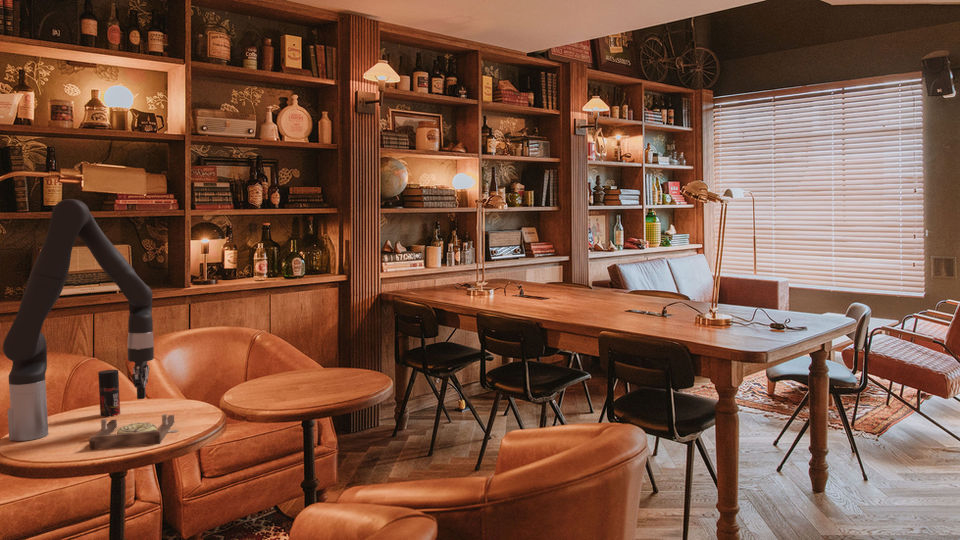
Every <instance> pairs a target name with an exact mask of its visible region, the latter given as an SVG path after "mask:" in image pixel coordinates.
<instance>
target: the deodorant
mask: <svg viewBox="0 0 960 540" xmlns="http://www.w3.org/2000/svg"><path fill="white" fill-rule="evenodd" d="M97 373H98V391H99V413H100V414H99V415H101V416H111V417H115V416H114V415H116V416H119V415H120V414H121V404H120V403H121V402H120V379H119V369H106V370H100V371H98V372H97ZM118 414H119V415H118ZM101 416H100V417H101Z"/></svg>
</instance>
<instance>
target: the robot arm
mask: <svg viewBox="0 0 960 540" xmlns="http://www.w3.org/2000/svg"><path fill="white" fill-rule="evenodd" d="M77 238H79V239H80V240H81V241H82V242H83V244H85V246H86V247H87V248H88V250H89V252H90V253H91V254H92V256H93V258H94V259H95V261H96V262H97V264H98V266H99V267H100V268H101V269H102V270H103V271H104V273H105V274H106V275H107V276H108V277H109V279H111V281H112V282H114V283H115V284H116V286H117V287H118V289H119V290H120V291H121V293H122V294H123V296H125V298H126V299H127V301H128V312H129V314H128V324H127V325H128V326H127V327H128V328H127V329H128V331H127V333H128V335H127V360H128V362H131V363H133V362H134V366H133V367H132V375H131V377H132V382H133V385H134V388H136V399H137V400H144V399H145V398H146V387H147V384H148V382H149V380H148V379H149V373H150V368H151V367H150V365H149V364H148V362H151V361H153V360H154V357H155V354H154V353H155V352H154V351H155V347H154V345H155V344H154V338H155V337H154V332H153V330H154V327H153V326H154V325H153V323H154V322H153V321H154V320H153V316H152V310H153V290H152V288H151V287H150V286H149V285H147V284H146V283H145V282H144V281H143V280H142V279H141V278H140V276H139V275H138V274H137V273H136V271H135V269H134V268H133V266H132V265H131V264H130V262H128V260H127V259H126V258H125V256H123V254H121V252H120V251H119V250H118V249H117V247H115V245H114V244H113V243H112V242H111V241H110V240H109V238H108V236H106V235H105V233H104V232H103V230H102V229H101V228H100V226H99V224H98V222H96V219H95V218H94V216H93V214H92V213H91V211H90V209H89V206H88V205H87V204H86V203H85V202H83V201H82V200H79V199H76V198H75V199H73V198H68V199H66V198H65V199H63V200H61V201H58V202H57V203H56V204H55V205H54V207H53V209H52V212H51V216H50V221H49V226H48V230H47V233H46V237H45V240H44V242H43V243H42V244H43V245H42V247H40V248H41V249H40V251H39V253H38V255H37V257H36V260H35V262H34V264H33V267H32V269H31V272H30V274H29V277H28V279H27V282H26V286H25V289H24V293H23V296H22V298H21V301H20V305H19V308H18V310H17V314H16V316H15V318H14V320H13V322H12V324H11V326H10V329H9V330H8V332H7V334H6V336H5V338H4V340H3V342H2V350H3V354H4V356H5V357H6V358H7V359H8V360H10V361H11V362H12V365H11V370H10V372H9V374H8V388H9V389H8V392H9V407H10V408H8V409H7V423H8V424H7V425H8V438H9V439H8V440H9V441H15V442H17V441H18V442H22V441H23V442H24V441H31V440H37V439H40V438H44V437H46V436H48V435H49V423H48V422H49V421H48V405H47V403H48V402H47V401H48V400H47V387H46V386H47V383H46V372H47V369H48V348H47V346H48V345H47V340H46V337H45V335H44V333H43V332H42V327H43V326H44V322H45V320H46V318H47V317H48V315H49V313H50V312H51V311H52V309H53V307H54V306H55V304H56V303H57V301H58V300H59V297H60V296H61V293H62V292H63V289H64V287H65V284H66V281H67V278H68V275H69V271H70V265H71V258H72V252H73V247H74V245H75V242H76V240H77Z"/></svg>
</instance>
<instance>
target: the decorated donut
mask: <svg viewBox="0 0 960 540" xmlns="http://www.w3.org/2000/svg"><path fill="white" fill-rule="evenodd" d="M157 429H158V428H157V426H156V424H153V423H150V422H135V423H129V424H126V425H124V426H121V427H119V428H118V429H117V432H116V434H122V433H134V432H146V431H158V430H157Z"/></svg>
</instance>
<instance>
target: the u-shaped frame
mask: <svg viewBox="0 0 960 540" xmlns="http://www.w3.org/2000/svg"><path fill="white" fill-rule="evenodd" d="M117 423H118V422H117V419H110V421H108V422H107V418H102V419H101V420H100V427H101V428H100V430H99V431H98V432H97V433H96V434H95V435H91V436H90V437H89V450H90V449H91V450H100V449H99V448H102V449H113V448H121V447H124V448H125V447H133V446H146V445H156V444H157V445H159V444H161V443H162V441H163V439H164V438H165V437H166V435H167V434H169V432H171V433H178V432H177V430H178V429H171V428H172V427H173V425H174V424H173V423H175V415H174V414H171V415H170V414H169V415H168V413H165V414H162V415H161V425H160V426H159V429H158V430H157V431H146V432H134V433H122V434H117V433H113V432H114V429H115V428H116V427H118V424H117ZM171 426H172V427H171ZM170 427H171V428H170ZM116 429H117V428H116ZM116 429H115V430H116Z"/></svg>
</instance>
